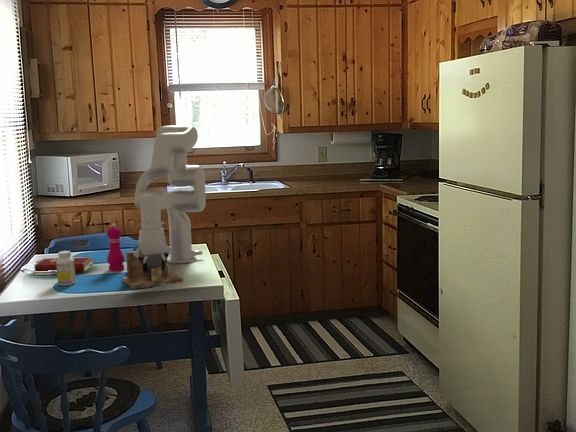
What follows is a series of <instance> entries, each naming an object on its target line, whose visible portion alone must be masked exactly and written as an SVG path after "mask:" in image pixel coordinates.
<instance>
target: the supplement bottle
mask: <svg viewBox="0 0 576 432" xmlns="http://www.w3.org/2000/svg"><path fill="white" fill-rule="evenodd" d="M57 254H58V258H59V259H57V261H56V265H57V272H56V275H57V284H58V285H59V286H64V287H65V286H66V287H67V286H72V285H74V284H76V272H75V267H74V259H73V258H74V257H72V253H71V250H61V251H59V252H58V253H57Z"/></svg>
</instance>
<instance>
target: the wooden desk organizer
mask: <svg viewBox="0 0 576 432" xmlns="http://www.w3.org/2000/svg"><path fill="white" fill-rule="evenodd" d="M131 251H132V252H131ZM131 251H126V252H125V254H126V255H125V257H126V259H125V260H126V271H127V272H126V274H127V276H122V280H123V281H124V284H126V285H127V284H128V285H129V286H128V285H127V286H128V287H130V288H131V290H137V289H136V288H139V289H144V288H143V287H146V288H150V287H149V286H152V287H155V286H154V285H159V286H162V285H161V284H166V285H170V283H172V284H177V283H176V282H179V283H184V278H183V277H182V276H180V275H179V274H177V273H175V272H174V271H172V270H169V266H168V262H167V259H168V257H167V258H166V260H165V268H164V271H163V276H161V267H156V268H151V277H150V278H147V277H146V273H145V272H144V271H143V268H142V262H141V261H140V260H139V259H138V258H136V257H135V256H134V255H133V254H134V252H135V251H133V250H131ZM166 252H167V249H166ZM166 252H165V253H166ZM165 253H164V254H165ZM138 255H139V256H140V257H142V254H140V253H139V254H138ZM122 280H121V281H122ZM123 281H122V282H123Z"/></svg>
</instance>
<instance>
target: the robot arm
mask: <svg viewBox="0 0 576 432" xmlns="http://www.w3.org/2000/svg"><path fill="white" fill-rule="evenodd" d="M198 136H199V135H198V130H197V128H196V127H195V126H193V125H163V126H160V127H158V128H157V130H156V136H155V138H154V143H153V149H152V156H151V157H152V158H151V162H150V166H149V167H148V168H147V169H146V170H145V171H144V172H143V173H142V175H141V176H140V177H139V178H138V181H137V182H136V185H135V192H134V205H135V207H136V209H138V210H140V221H141V223H140V224H141V229H139V232H138V244H137V245H138V249H137V250H136V251H135V252H134V254H133V255H134V256H135V257H136V258H138V259H139V260H140V261H141V262H142V268H143V271H144V272H145V273H148V264H147V263H146V260H147V257H148V256H149V255H157V254H161V256H162V270H163V271H164V268H165V260H166V258H167V263H169V264H173V265H174V264H175V265H177V264H178V265H181V264H188V263H189V264H190V263H193V262H196V258H197V257H196V256H202V255H203V250H194V249H193V248H192V227H191V226H192V225H191V224H192V223H191V220H190V217H189V216H188V215H187V214H186V213H190V212H191V213H199V212H202V211H204V210H205V209H206V206H207V205H206V200H207V198H206V176H205V172H204V169H203V167H202V166H201V165H199V164H198V165H197V164H191V165H190V164H188V160H187V159H188V158H187V157H188V155H187V154H188V153H189V152H191V150H192V149H193V147H194V146H195V145H196V144H197V141H198ZM164 176H167V180H168V184H169V185H170V186H171V187H175V188H192V189H175V190H171V191H165V190H147V188H148V186H149V185H150V184H152V182H154V181H156V180H158V179H161V178H162V177H164ZM164 210H166V212H167V217H168V233H169V234H168V235H169V245H168V244H167V241H166V239H167V238H166V235H165V230H164V228H163V226H164V225H166V223H165V221H163V220H162V212H161V211H164ZM166 249H167V252H166ZM165 252H166V253H165ZM139 253H140V254H142V257H140V256H139V255H138V254H139ZM164 253H165V254H164ZM169 256H170V257H169Z"/></svg>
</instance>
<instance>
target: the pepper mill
mask: <svg viewBox="0 0 576 432" xmlns="http://www.w3.org/2000/svg"><path fill="white" fill-rule="evenodd" d="M121 229H122V228H120V227H117V224H116V223H115V222H113V223H112V224H111V227H108V229H107V231H106V236H107V237H108V242H109V251H108V254H107V258H106V260H107V261H106V262H107V263H108V264H109V266H108V270H109V271H110V272H120V271H124V269H125V265H124V263H125V260H126V259H125V256H124V255H125V254H124V253H123V251H122V248H121V241H122V240H121V237H122V230H121Z"/></svg>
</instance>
